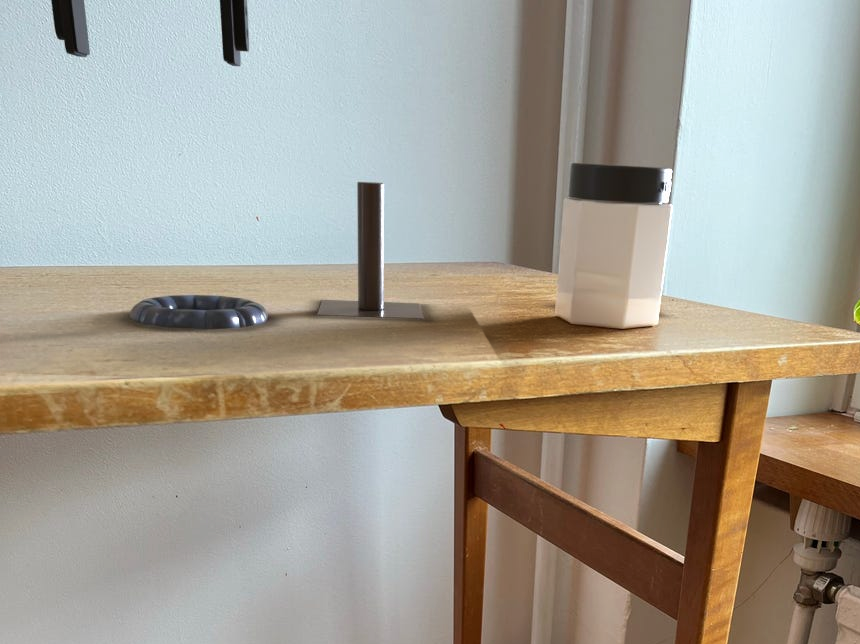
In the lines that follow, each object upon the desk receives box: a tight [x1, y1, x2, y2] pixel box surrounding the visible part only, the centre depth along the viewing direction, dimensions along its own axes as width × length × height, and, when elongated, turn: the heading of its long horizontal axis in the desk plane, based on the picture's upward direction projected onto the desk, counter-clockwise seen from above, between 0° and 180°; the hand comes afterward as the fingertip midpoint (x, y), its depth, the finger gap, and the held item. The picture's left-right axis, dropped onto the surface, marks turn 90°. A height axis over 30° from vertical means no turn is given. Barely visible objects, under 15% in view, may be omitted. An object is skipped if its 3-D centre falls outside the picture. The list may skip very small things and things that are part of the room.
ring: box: [129, 294, 269, 330], centre depth 69 cm, size 9×9×2 cm
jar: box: [554, 162, 673, 330], centre depth 81 cm, size 9×8×12 cm
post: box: [316, 181, 425, 320], centre depth 75 cm, size 8×8×10 cm
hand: (156, 59), depth 63 cm, fingers open, 9 cm apart
